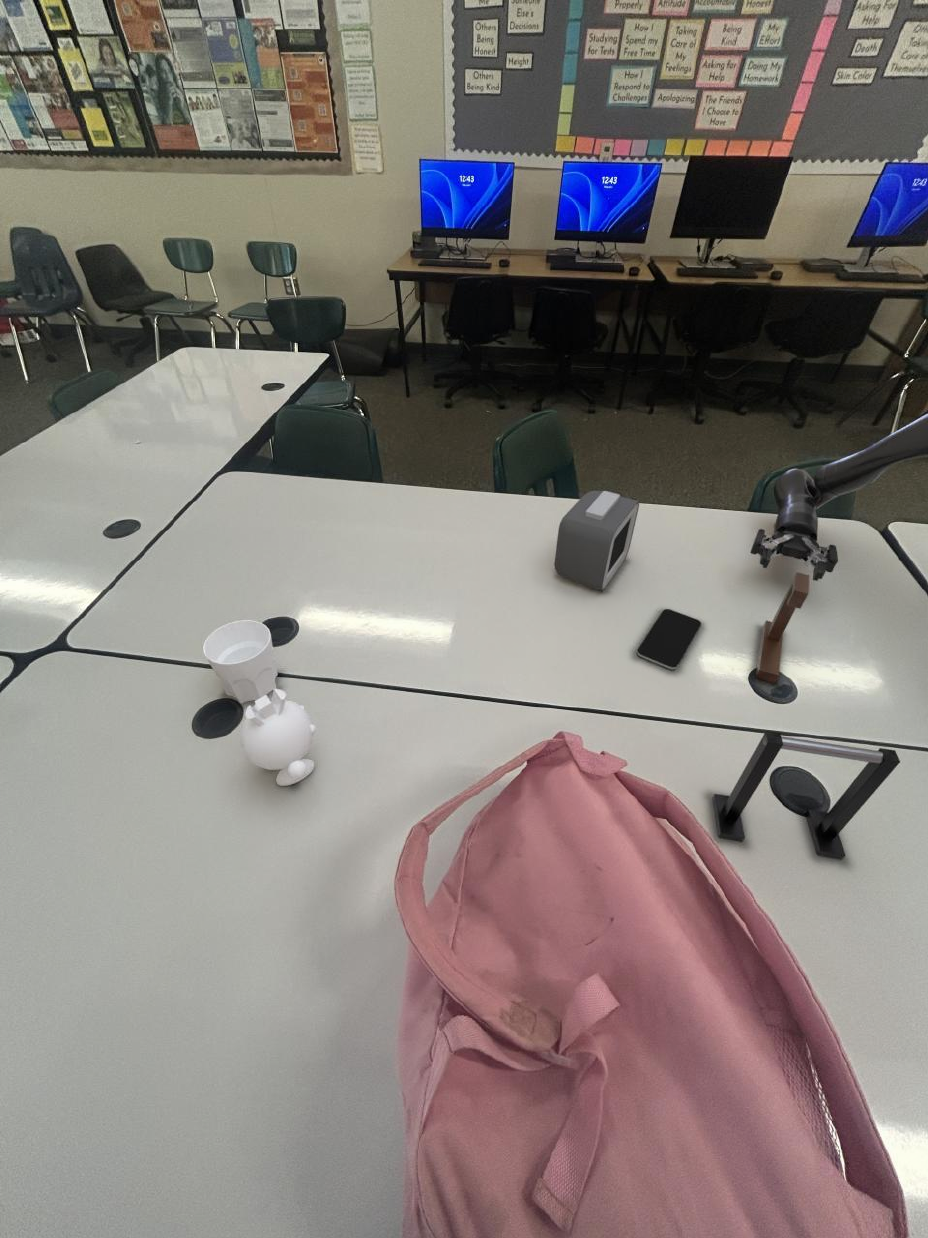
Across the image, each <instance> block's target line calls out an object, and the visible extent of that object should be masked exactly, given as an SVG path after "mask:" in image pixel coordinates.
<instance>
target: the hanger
mask: <svg viewBox="0 0 928 1238" xmlns="http://www.w3.org/2000/svg"><path fill="white" fill-rule="evenodd" d="M809 589H810V575H809V574H807V573H802V572H798V571H796V572H795V573H794V575H793V577H792V579H791V582H790V584H789V586H788V588H787V590H786V592H785V594H784V596H783V599H782V601H781V602H780V605H779V606H778V609H777V612H776V613H775V615H774V617H773V619H772V621H769V620H765V622H764V624H763V626H762V628H761V634H760V640H759V641H760V643H759V648H758V657H757V664H756V671H755V678H756V679H757V680H758V679H759V680H762V681H765V682H768V683H771V684H775V683H776V682H777V680H778V678H779V675H780V667H781V658H782V657H781V656H782V646H783V638H784V637H783V636H784V633H785V630H786V629H787V627H788V624H789V623H790V621H791V618H792V617H793V614H794V612H795V611H796V609H801V610H802V607H803V605H804V603H805V601H806V599H807V597H808V595H809V591H810V590H809Z"/></svg>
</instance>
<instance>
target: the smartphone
mask: <svg viewBox="0 0 928 1238" xmlns="http://www.w3.org/2000/svg"><path fill="white" fill-rule="evenodd" d="M701 626H702V622H701V621H700V620H699V619H697V618H694V617H691V616H689V615H686V614H683V613H681V612H678V611H675V610H673V609H670V608H665V609H662V612H661V613H660V615H659V616H658V617H657V619H656V621H655V622H654V623H653V625H652V627H651V628H650V630H649V631H648V633H647V634H646V635H645V637H644V639H643V640H642V642H641V644H640V645H639V646H638V648H637V650H636V655H638V656H639V657H640V658H643V659H645V660H648V661H649V662H652V663H655V664H657V665H660V666H663V667H664V668H666V669H668V670H676V669H678V667H679V665H680V663H682V660H683V659H684V657H685V655H686V653H687V652H688V650H689V648H690V646H691V644H692V642H693V640H694V639H695V637H696V635H697V634H698V632H699V630H700V628H701Z"/></svg>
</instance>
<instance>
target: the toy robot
mask: <svg viewBox="0 0 928 1238" xmlns="http://www.w3.org/2000/svg"><path fill="white" fill-rule="evenodd" d="M272 691H273V692H272V697H271V700H270V699H269V696H268V694H266V695H265V696H263V697H261V698H259V699H258V700H254V703H255V704H254V705H253V706H252V705H251V704H249V705H248V706H247V708H246V709H245V713H244V714H245V717H246V718H245V719H244V721H243V724H242V726H241V734H240V741H239V743H240V745H241V747H242V749H243V750H242V751H243V753H244V755H245V757H246V759H247V760H248V761H250V762H251V763H252V764H253V765H255V766H257V767H259V768H261V769H264V770H268V771H275V770H276V771H277V770H279V772H278V773H277V775H276V779H275V781H276V784H277V785H278V786H280V787H287V786H291V785H293V784H296V783H299V782H301V781H302V780H304V779H305V778H307V777H308V776H309V775H310V774H311V773H312V772H313V770H314V768H315V762H314V761H313V760H311V759H308V758H304V756H305V755H306V754H307V753H308V752H309V749H310V747H311V745H312V742H313V739H314V734H315V733H316V731H317V727H316V725H314V724H313V722H312V718H311V717H310V714H309V712H308V711H307V710H306V708H305V706H304V705H302V704H301V705H299V704H298V703H297V702H295V701H292V700H287V694H286V692H285V691H284V690H283V689H280V688H277V689H274V690H272Z"/></svg>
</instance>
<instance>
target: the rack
mask: <svg viewBox="0 0 928 1238" xmlns="http://www.w3.org/2000/svg"><path fill="white" fill-rule="evenodd" d="M781 750H786V751H793V752H800V753H807V754H813V755H817V756H818V755H819V756H826V757H832V758H838V759H844V760H845V759H846V760H852V761H859V762H864V763H866V764H865V766H864V767H863V769H862V770H861V771H860V772H859V774H857V776H856V777H855V778H854V779H853V781H852V782H851V783H850V785H849V786H848V787H847V789H846V790H845V791H844V792H843V794H842V795H841V796H840V797H839V798H838V799H837V801H836V802H835V804H834V805H833V806H832V807H831V809H830V810H829V811H827V812H826V811H821V810H815V809H806V812H805V817H806V820H807V823H808V827H809V830H810V834H811V838H812V841H813V845H814V848H815V851H816V852H815V853H816V856H821V857H827V858H833V859H838V860H843V859H844V858H845V857H846V852H845V850H844V846H843V843H842V840H841V837H840V833H841V832H842V830H843V829H844V828H845V827H846V826H847V825H848V824H849V822H850V821H851V820H852V819H853V818H854V817H855V815H856V814H857V813H858V812H859V811H860V810H861V808H862V807H863V806H864V805H865V804H866V803H867V801H869V799H870V798H871V797H872V796H873V794H875V792H876V791H877V790H878V789H879V787H881V785H883V783H884V782H885V780H886V779H887V778H888V777H889V776H890V775H891V773H892V772H893V771H894V770H895V769H896V768H897V767H898V765H899V764H900V763H901V760H900V758H899V756H898V753H897V751H896V749H889V748H883V747H882V748H881V747H880V748H878V749H877V750H876V749H875V750H874V749H869V748H862V747H855V746H849V745H842V744H835V743H834V744H833V743H829V742H822V741H815V740H808V739H801V738H794V737H790V736H789V737H788V736H782V734H781V733H780V732H776V731H768V730H765V732H764V733H763V735H762V737H761V739H760V741H759V743H758V744H757V746H756V748H755V750H754V751H753V753H752V755H751V757H750V759H749V760H748V761H747V763H746V765H745V767H744V769H743V771H742V773H741V775H740V776H739V777H738V780H737V782H736V783H735V785H734V787H733V789H732V791H731V792H730V794H729V795H725V794H718V793H714V794H713V796H712V803H713V809H714V816H715V823H716V830H717V835H718V838H721V839H724V840H725V839H726V840H731V841H735V842H736V841H737V842H743V841H745V838H746V836H745V831H744V826H743V821H742V814H743V812H744V810H745V808H747V805H748V803H749V802H750V800H751V799H752V797H753V795H754V794H755V792H756V791H757V789H758V788H759V785H760V784H761V782H762V780H763V779H764V777H765V776H766V774H767V772H768V771H769V769H770V767H771V766H772V765H773V762H774V760H775V759H776V757H777V756H778V754H779V753H780V751H781Z"/></svg>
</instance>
